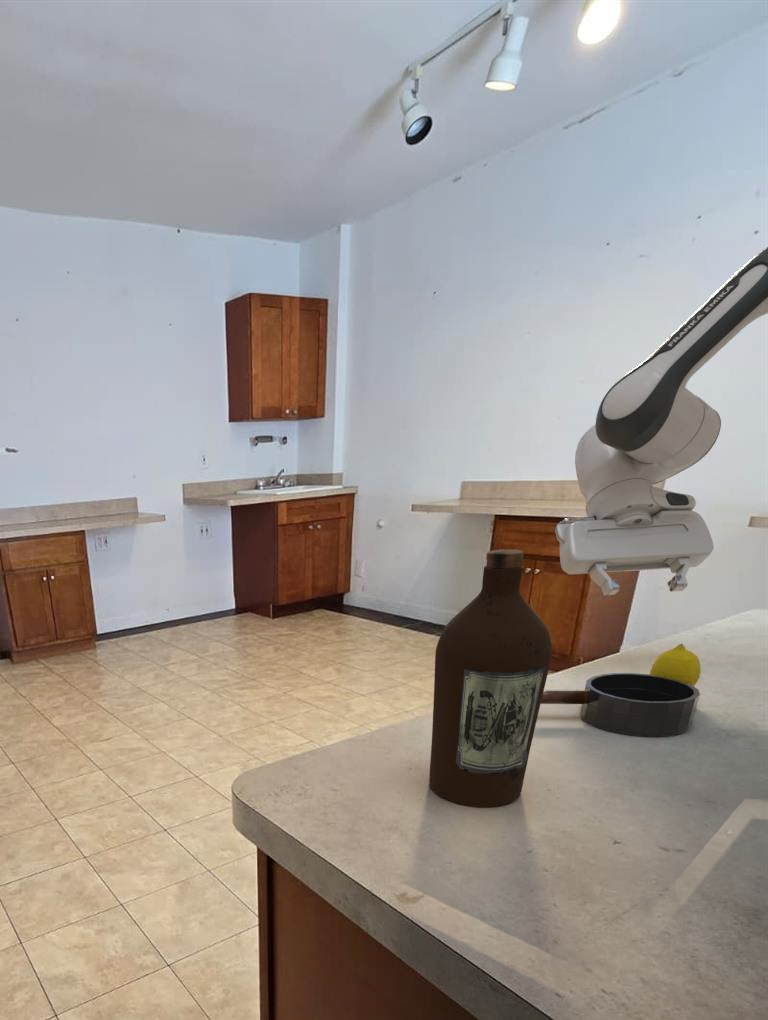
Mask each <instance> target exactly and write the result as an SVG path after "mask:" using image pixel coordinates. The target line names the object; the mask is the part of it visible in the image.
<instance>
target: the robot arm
mask: <svg viewBox="0 0 768 1020" xmlns="http://www.w3.org/2000/svg"><path fill="white" fill-rule="evenodd" d="M766 314H768V246H767V247H766V248H764V249H762V250H761V251H760V252H759V253H757V254H756V255H755V256H753V257H752V258H751V259H750V260H748V261H747V262H746V263H745V264H744V265H743V266H742V267H740V268H739V269H738V270H737V271H736V272H734V274H733V275H731V277H730V278H728V280H727V281H725V282H724V284H722V285H721V286H720V287H719V288H718V289H717V290H716V291H715V292H714V293H713V294H712V295H711V296H710V297H709V298H708V299H707V300H706V301H705V302H704V303H702V304H701V306H700V307H699V308H697V310H696V311H694V312H693V314H691V315H690V317H689V318H687V319H686V320H685V321H684V322H683V323H682V324H681V325H680V326H679V327H678V328H676V330H675V331H674V332H672V334H671V335H670V336H669V337H668V338H666V340H665V341H664V342H663V343H662V344H661V345H659V346H658V348H656V349H655V350H654V351H653V352H652V353H651V354H650V355H648V357H646V359H644V360H643V361H641V362H640V363H639V364H638V365H636V366H635V367H634V368H633V369H631V370H630V371H628V372H627V373H626V374H625V375H623V376H622V377H621V378H620V379H618V380H617V381H616V382H615V383H614V384H613V385H612V386H611V387H610V388H609V389H608V391H606V394H605V395H604V396H603V398H602V400H601V402H600V404H599V405H598V406H599V407H598V410H597V413H596V417H595V424H594V425H591V426H590V427H589V428H588V429H587V430H586V432H584V433H583V435H582V436H581V438H580V439H579V441H578V444H577V445H576V450H575V454H574V455H575V456H574V465H575V473H576V479H577V483H578V486H579V492H580V494H581V495H582V496H583V497H584V498H585V513H586V516H581V517H567V518H563V520H562V521H559V523H557V524H556V526H555V528H554V529H555V530H554V532H555V536H556V539H557V541H558V542H559V561H560V567H561V570H562V571H563V572H564V573H566V574H568V575H569V576H570V575H587V574H588V575H589V578H590V580H591V581H592V582H594V583H595V584H597V585H598V586H599V587H600V588H601V592H602V595H603V596H615V595H617V593H618V592H619V591H620V588H621V586H620V584H619V580H618V578H612V577H611V576H610V575H609V574H608V573H619V572H621V573H622V572H636V571H638V572H639V571H651V570H670V572H671V574H675V575H673V577H672V578H671V579H670V580H669V581H668V582H667V586H668V588H669V592H671V593H672V592H683V591H684V590H685V589H686V588H687V587H688V584H689V583H688V580H687V574H688V571H689V569H690V568H696V567H698V566H700V565H701V564H702V563H703V562H704V561H705V560H706V559H708V557H709V556H710V555H711V554H712V553H713V550H714V540H713V538H712V535H711V533H710V530H709V528H708V526H707V523H706V521H705V520H704V518H703V516H702V515H700V513H698V512H696V511H693V510H694V509H695V507H696V506H697V501H696V498H695V497H694V496H693V495H690V494H686V493H680V492H674V491H671V490H670V491H669V490H666V489H663V488H659V487H657V486H653V485H657V484H659V483H662V482H663V481H666V480H668V479H670V478H672V477H674V476H676V475H678V474H680V473H681V472H683V471H685V470H687V469H689V468H690V467H692V466H694V465H696V464H697V463H699V462H700V461H701V460H702V459H703V458H704V457H705V456H706V455H707V454H708V453H709V452H710V451H711V449H712V448H713V446H714V445H715V444H716V442H717V439H719V435H720V431H721V428H722V421H721V420H722V419H721V416H720V414H719V413H718V411H717V410H715V409H714V408H713V407H712V406H711V405H710V404H709V403H707V402H706V401H705V400H703V399H702V398H701V397H699V396H698V395H695V394H694V393H693V392H692V391H691V390H689V389H688V388H687V384H688V382H689V381H690V379H691V378H692V377H693V376H694V375H695V374H696V373H697V372H698V371H699V370H700V369H701V368H702V367H703V366H704V365H706V363H708V362H709V361H710V360H711V359H712V358H713V357H715V356H716V354H717V353H719V352H720V351H721V350H722V349H723V348H724V347H725V346H726V345H727V344H728V343H730V342H731V340H732V339H734V338H735V337H737V335H738V334H740V332H741V331H743V329H744V328H746V327H747V326H748V325H749V324H751V323H752V322H754V321H755V320H757V319H758V318H761V317H762V316H765V315H766Z"/></svg>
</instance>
